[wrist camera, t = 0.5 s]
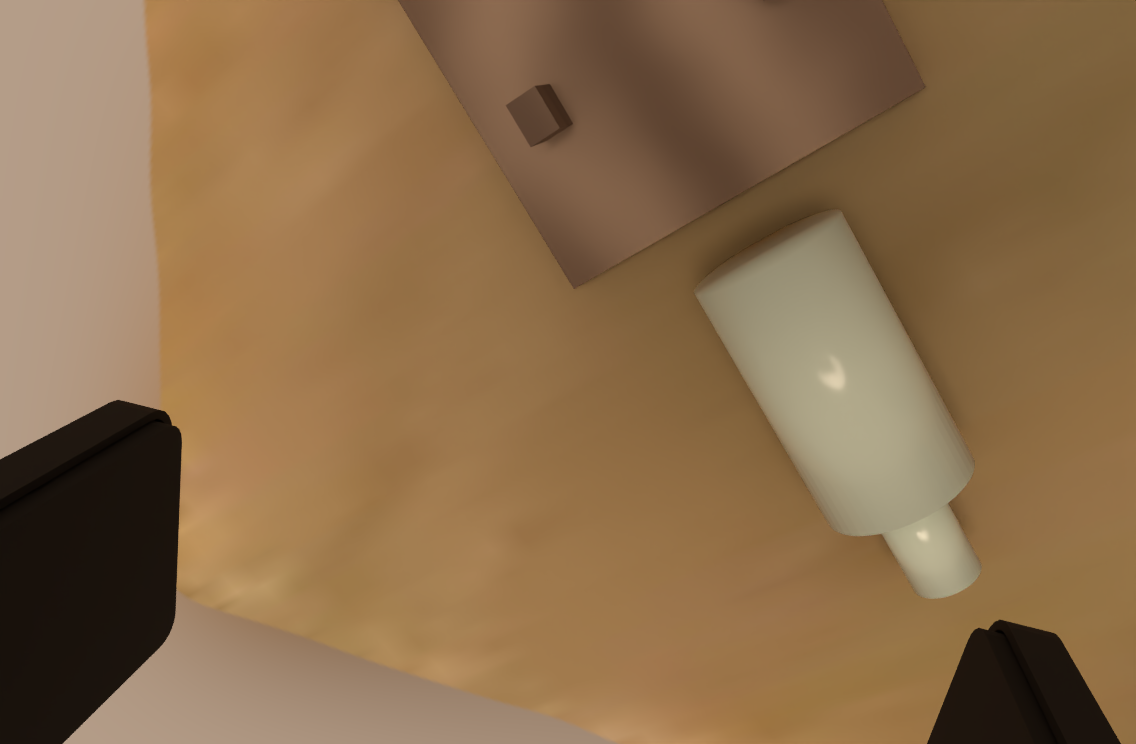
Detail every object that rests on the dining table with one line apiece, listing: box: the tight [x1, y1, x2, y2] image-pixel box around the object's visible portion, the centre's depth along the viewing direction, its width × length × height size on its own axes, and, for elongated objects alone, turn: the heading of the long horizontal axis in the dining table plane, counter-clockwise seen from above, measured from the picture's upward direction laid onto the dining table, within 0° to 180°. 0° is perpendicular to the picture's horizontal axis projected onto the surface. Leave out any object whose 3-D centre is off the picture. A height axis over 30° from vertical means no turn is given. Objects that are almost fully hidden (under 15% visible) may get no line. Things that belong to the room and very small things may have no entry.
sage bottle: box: [694, 209, 982, 599], centre depth 32 cm, size 14×6×6 cm, turn 32°
